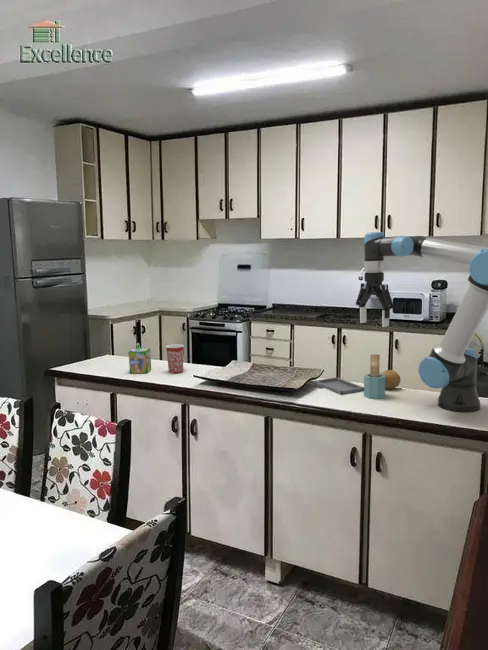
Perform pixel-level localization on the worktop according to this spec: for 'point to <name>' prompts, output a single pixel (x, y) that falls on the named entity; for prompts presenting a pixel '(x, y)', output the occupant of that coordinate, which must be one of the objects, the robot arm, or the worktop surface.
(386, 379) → the potato
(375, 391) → the cup
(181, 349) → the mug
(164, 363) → the worktop surface
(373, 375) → the dowel
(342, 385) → the tray
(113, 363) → the worktop surface
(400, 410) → the worktop surface
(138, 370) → the chalk box
